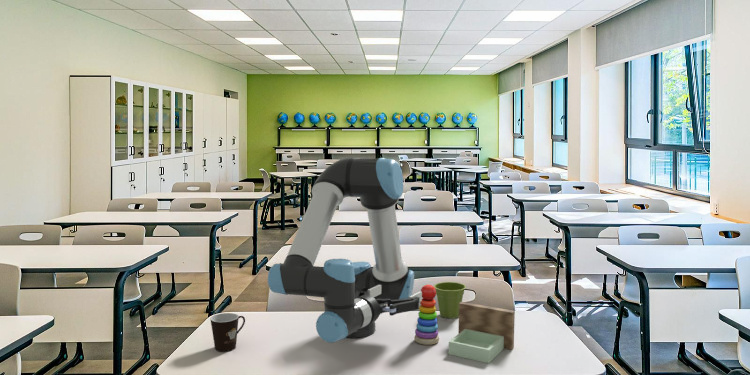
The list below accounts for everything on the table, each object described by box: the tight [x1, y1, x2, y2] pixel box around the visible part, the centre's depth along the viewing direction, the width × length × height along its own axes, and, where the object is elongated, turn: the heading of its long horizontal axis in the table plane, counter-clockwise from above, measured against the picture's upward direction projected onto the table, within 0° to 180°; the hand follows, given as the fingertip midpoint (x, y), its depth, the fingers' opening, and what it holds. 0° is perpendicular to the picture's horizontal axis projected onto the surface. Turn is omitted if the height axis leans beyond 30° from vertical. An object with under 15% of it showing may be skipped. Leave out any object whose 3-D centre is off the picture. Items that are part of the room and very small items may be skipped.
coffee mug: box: [210, 312, 246, 353], centre depth 180 cm, size 12×9×10 cm
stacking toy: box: [413, 284, 440, 346], centre depth 184 cm, size 8×8×19 cm
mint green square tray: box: [448, 329, 505, 364], centre depth 177 cm, size 13×13×4 cm
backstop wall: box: [457, 301, 516, 350], centre depth 183 cm, size 18×2×12 cm, turn 59°
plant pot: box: [433, 281, 467, 319], centre depth 210 cm, size 12×12×11 cm
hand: (400, 292), depth 168 cm, fingers open, 13 cm apart
